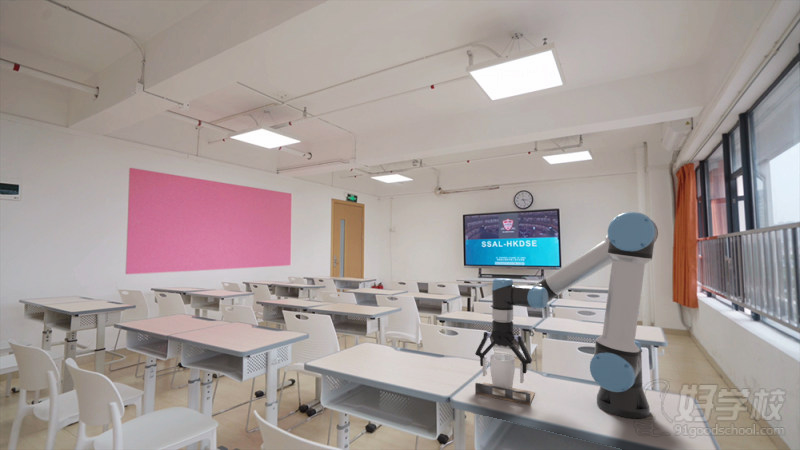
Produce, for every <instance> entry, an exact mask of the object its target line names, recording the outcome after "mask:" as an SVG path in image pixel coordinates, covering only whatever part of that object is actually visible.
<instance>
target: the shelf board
mask: <svg viewBox="0 0 800 450" xmlns="http://www.w3.org/2000/svg"><path fill="white" fill-rule="evenodd" d="M474 388H475V389H474V390H475V392H474V393H475V395H479V396H485V397H490V398H495V399H498V400H504V401H510V402H513V403H518V404H519V403H520V404H523V405H528V406H531V404H532V402H533V399H534V397H535V395H536V391H532V390H526V389H520V388H516V387H515V388H514V387H512V389H507V388H501V387H496V386H493V383H488V382H482V383H480V382H475V385H474ZM534 394H535V395H534ZM531 401H532V402H531Z"/></svg>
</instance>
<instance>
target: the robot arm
mask: <svg viewBox="0 0 800 450" xmlns="http://www.w3.org/2000/svg"><path fill="white" fill-rule="evenodd" d="M658 236H659V229H658V226H657V224H656V223H655V222H654V221H653V220H652V219H651V218H650V216H648V215H646V214H644V213H641V212H638V211H637V212H636V211H629V212H628V211H626V212H624V213H621V214H618V215H617V216H615V217H614V218H613V219H612V220H611V221H610V223H609V225H608V227H607V235H605V238H604V239H605V240H603V241H602V242H600V243H598V244H597V245H595V246H594V247H592V248H591V249H589V250H588V251H586V252H585V253H583V254H581V255H580V256H578V257H576V258H575V259H573V260H572V261H571V262H569V263H568V264H565V265H564V266H563V267H561V268H559V269H558V270H557V271H555V272H553V273H551V274H550V275H548V276H547V277H545V278H543V279H542V280H540V281H539V282H537V283H536V284H530V285H519V284H514V281H513V279H511V278H501V277H500V278H494V279H493V280H492V288H491V294H492V296H491V298H492V299H491V300H492V303H491V304H492V305H491V306H492V307H491V310H492V313H491V316H492V317H491V318H492V319H493V320H492V322H491V324H492V326H491V327H492V328H491V329H492V332H489V330H486V331H484V332H483V337H482V339H481V342H480V343H479V345H478V347H477V349H476V351H475V353H474V354H475V356H477V357H479V358H480V360H479V362H480V363H479V364H480V365H479V366H480V367H482V377H486V375H487V374H488V373H487V372H488V371H487V369H488V367H487V366H488V364H487V363H488V362H487V361H488V360H487V359H488V358H487V356H486V355H487V354H488V353H489V352H490V351H491V350H492V348H494V346H496V345H497V346H499V347H501V346H502V347H504V348H507V347H509V349H510V350H512V352H513V353H514V355H516V356H515V357H517V359H518V360H519V361H520V362H521V363H520V365H519V367H520V368H519V372H520V374H519V375H520V380H519V381H520V382H519V383H520V384H524V381H525V378H524V377H525V375H524V374H526V373H527V371H528V365H529V364H532V361H533V359H532V357H531V355H530V353H529V350H528V348H527V347H526V344H525V343H524V339H523V335H522V334H519V335H515V334H514V322H513V320H514V306H515V307H524V308H533V309H545V308H546V307H547V306H548V303H549V302H551V301H552V300H553V299H555V298H556V297H558V296H559V295H561V294H562V293H564V292H566V291H567V290H569V289H571V288H572V287H574V286H576V285H577V284H579V283H581V282H583V281H584V280H586V279H588V278H589V277H591V276H593V275H594V274H596V273H598V272H599V271H601V270H603V269H604V268H606V267H607V266H610V265H611V268H610V275H609V283H608V289H607V298H606V305H605V314H604V322H603V326H602V334H601V335H600V336H598V337H596V340H595V347H594V353H593V356H592V358H591V360H590V362H589V372H590V374H591V377H592V379H593V380H594V381H595V382H596V384H597V385H599V389H598V392H597V395H596V404H597V406H598V407H599V408H600V409H602V411H604V412H607V413H609V414H613V415H616V416H620V417H623V418H628V419H629V418H630V419H645V418H648V417H649V416H650V409H651V408H650V405H649V401H648V399H647V397H646V393H645V390H644V387H643V365H642V363H643V362H642V361H643V358H642V352H643V350H642V344H641V342H639V340H638V341H637V340H636V333H637V328H638V327H637V326H638V320H639V319H638V318H639V313H640V311H639V310H640V304H641V298H642V296H641V295H642V289H643V282H644V276H645V275H644V274H645V267H646V264H648V263H649V262H651V261H652V260H653V254H654V248H655V243H656V241H657V239H658ZM490 337H491V338H492V339H493V340H492V341H491V343H490V344H489V345H488V346H487V347H486V348H485V350H484V351H482V350H483V348H484V346H485V345H486V343H487V341H488V339H489V338H490ZM515 340H516V342H517V343H518V346H519V347H520V350H521V351H522V353H521V351H520V350H519V349H518V347H517V346H516V344H515V343H514V342H513V341H515Z"/></svg>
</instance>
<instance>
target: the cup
mask: <svg viewBox="0 0 800 450" xmlns="http://www.w3.org/2000/svg"><path fill="white" fill-rule="evenodd" d="M489 367H490V375H491V382H492V383H491V384H493V386H496V387H501V388H507V389H512V388H514V386H513V385H514V378H515V370H516V360H515V357H514V356H512V355H510V354H505V353H504V354H503V353H494V354H491V355H490V361H489Z"/></svg>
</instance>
